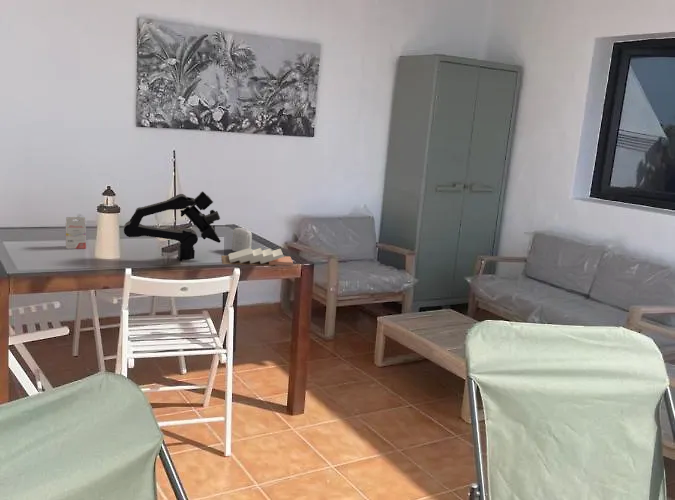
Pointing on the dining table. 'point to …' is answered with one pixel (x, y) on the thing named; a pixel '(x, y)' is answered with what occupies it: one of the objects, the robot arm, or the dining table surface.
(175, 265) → the dining table surface
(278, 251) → the domino
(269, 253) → the domino
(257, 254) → the domino
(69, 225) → the ink cartridge box
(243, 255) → the domino
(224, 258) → the walnut board
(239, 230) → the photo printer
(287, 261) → the domino
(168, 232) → the robot arm
